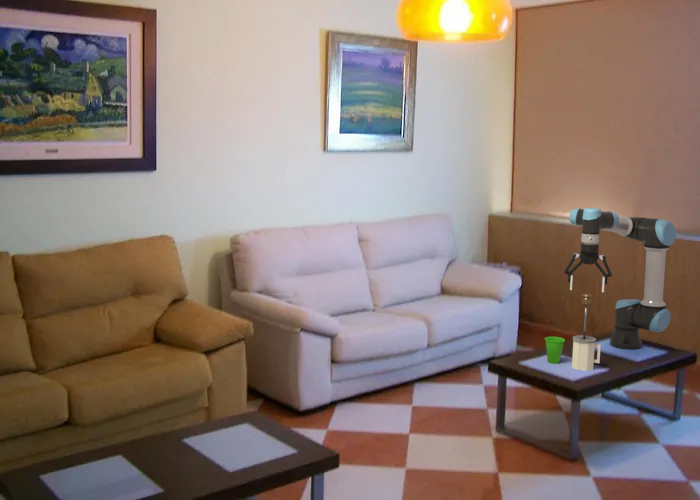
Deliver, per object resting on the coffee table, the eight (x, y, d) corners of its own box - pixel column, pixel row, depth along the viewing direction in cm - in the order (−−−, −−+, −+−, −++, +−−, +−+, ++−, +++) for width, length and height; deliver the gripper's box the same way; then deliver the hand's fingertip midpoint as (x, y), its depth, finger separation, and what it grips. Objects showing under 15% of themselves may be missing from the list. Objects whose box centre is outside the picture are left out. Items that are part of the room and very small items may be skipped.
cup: (562, 360, 379) (563, 337, 378) (565, 365, 370) (566, 342, 369) (542, 359, 380) (543, 336, 378) (544, 364, 371) (546, 341, 369)
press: (571, 363, 374) (572, 334, 372) (598, 365, 371) (600, 337, 369) (571, 369, 364) (572, 340, 362) (599, 372, 361) (601, 342, 359)
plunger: (583, 340, 370) (586, 293, 367) (593, 343, 365) (596, 295, 362) (574, 341, 367) (577, 294, 364) (584, 345, 362) (587, 296, 359)
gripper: (560, 242, 359) (557, 290, 362) (620, 246, 352) (616, 294, 356) (560, 240, 366) (557, 287, 369) (619, 243, 360) (615, 291, 363)
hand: (586, 290), depth 362 cm, fingers open, 13 cm apart
